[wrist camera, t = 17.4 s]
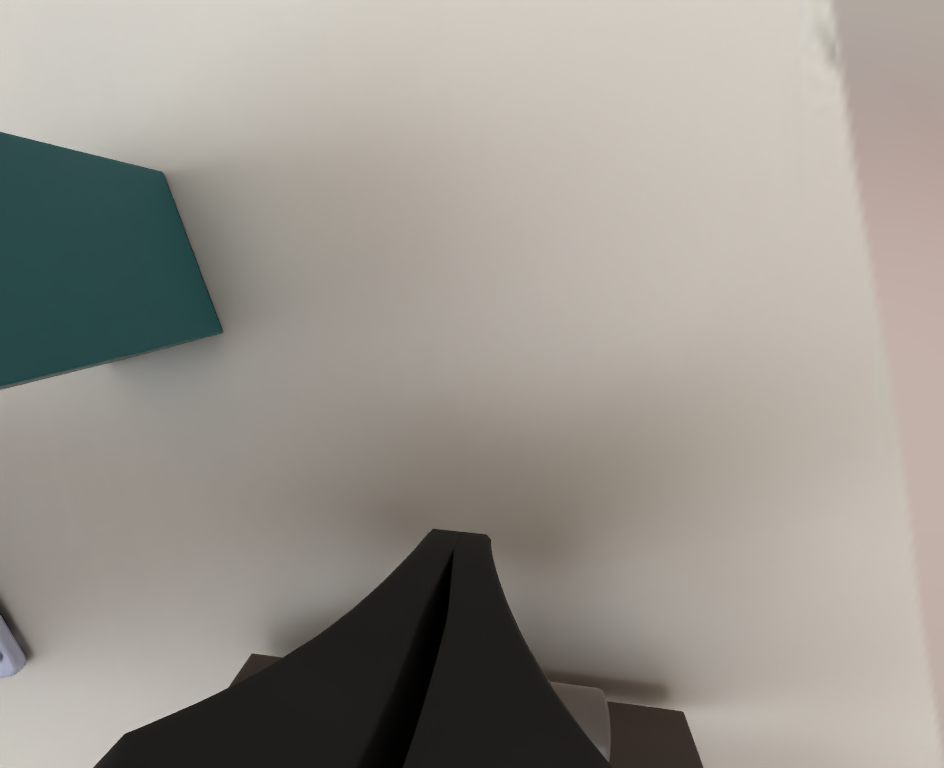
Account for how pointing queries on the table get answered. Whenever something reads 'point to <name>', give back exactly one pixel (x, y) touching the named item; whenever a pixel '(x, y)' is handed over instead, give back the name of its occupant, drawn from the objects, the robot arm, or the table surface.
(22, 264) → the teal rectangular block
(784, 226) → the table surface
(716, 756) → the table surface
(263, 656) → the drawer
